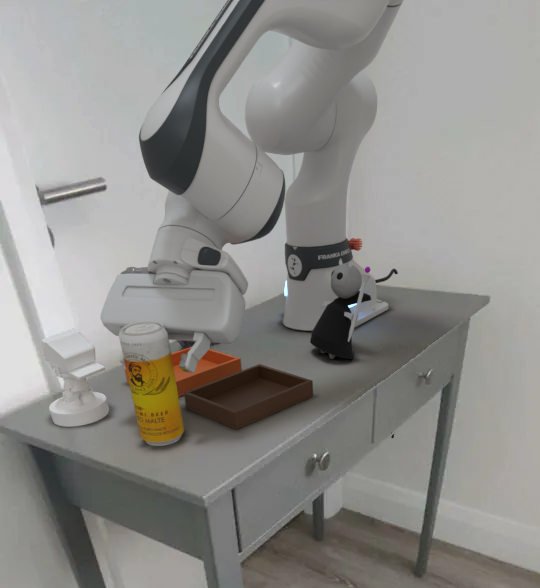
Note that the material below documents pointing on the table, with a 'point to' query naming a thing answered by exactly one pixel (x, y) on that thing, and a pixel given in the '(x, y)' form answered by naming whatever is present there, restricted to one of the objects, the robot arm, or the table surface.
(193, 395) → the walnut tray
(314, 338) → the toy
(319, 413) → the table surface
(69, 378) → the character figurine
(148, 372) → the beer can
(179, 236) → the robot arm
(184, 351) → the can tray
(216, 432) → the table surface
